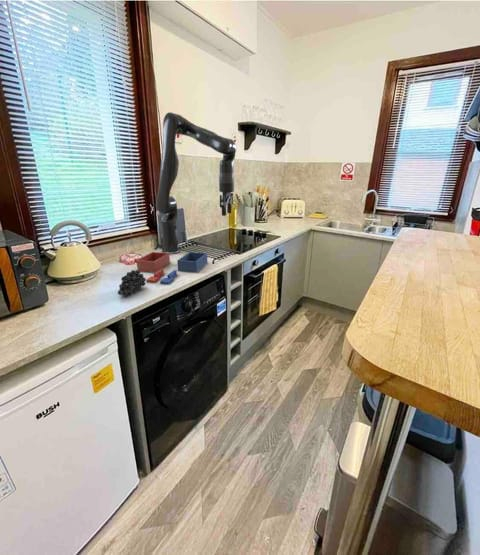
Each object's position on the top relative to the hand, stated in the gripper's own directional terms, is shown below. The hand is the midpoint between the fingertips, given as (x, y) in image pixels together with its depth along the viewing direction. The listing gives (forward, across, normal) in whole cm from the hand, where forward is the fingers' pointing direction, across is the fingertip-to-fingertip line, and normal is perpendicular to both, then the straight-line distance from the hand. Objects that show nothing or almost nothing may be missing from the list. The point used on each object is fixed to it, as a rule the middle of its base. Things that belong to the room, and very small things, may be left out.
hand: (226, 214), depth 145 cm
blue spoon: (+26, +34, -16) cm, 46 cm away
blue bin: (+26, +15, -14) cm, 33 cm away
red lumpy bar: (+26, +35, -23) cm, 49 cm away
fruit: (+26, +52, -25) cm, 63 cm away
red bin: (+26, +21, -33) cm, 47 cm away
